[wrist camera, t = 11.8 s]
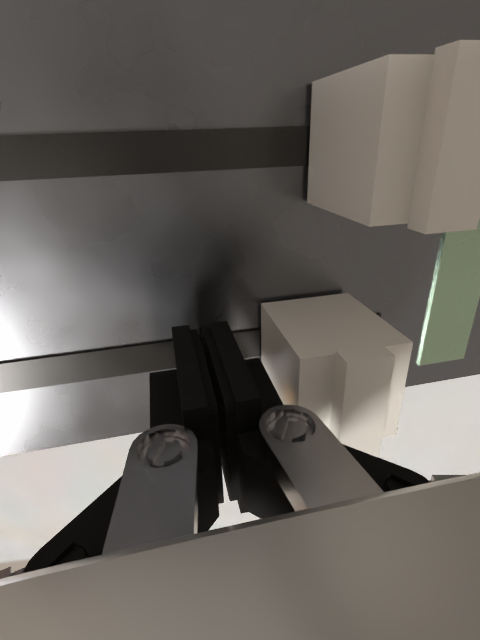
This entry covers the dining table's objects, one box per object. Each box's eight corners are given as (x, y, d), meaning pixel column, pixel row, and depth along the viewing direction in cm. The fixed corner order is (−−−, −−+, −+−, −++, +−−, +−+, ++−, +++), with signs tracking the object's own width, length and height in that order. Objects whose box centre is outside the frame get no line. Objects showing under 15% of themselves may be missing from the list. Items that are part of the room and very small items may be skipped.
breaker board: (-805, -501, 5) (-1297, -833, 4) (628, -238, 10) (736, -324, 8) (-173, 447, 13) (-225, 497, 11) (472, 346, 18) (509, 370, 16)
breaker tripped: (260, 300, 12) (309, 368, 8) (348, 290, 13) (429, 350, 9) (261, 383, 13) (304, 473, 10) (340, 371, 14) (408, 452, 10)
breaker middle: (312, 76, 10) (411, 39, 6) (417, 76, 10) (564, 41, 7) (306, 206, 11) (384, 238, 7) (399, 199, 12) (513, 226, 8)
